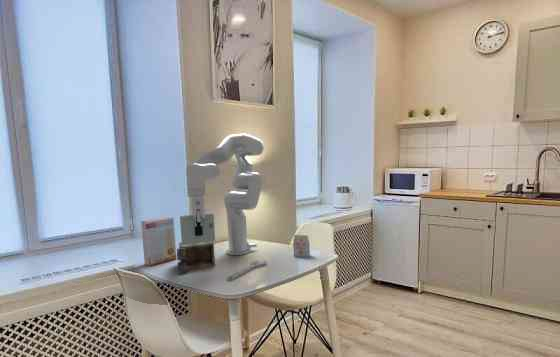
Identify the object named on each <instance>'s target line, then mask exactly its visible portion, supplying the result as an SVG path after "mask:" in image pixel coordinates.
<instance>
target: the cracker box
mask: <svg viewBox="0 0 560 357" xmlns="http://www.w3.org/2000/svg"><path fill="white" fill-rule="evenodd" d="M174 222H175V219H174V217H171V216H165V217H160V218H153V219H148V220H141V221H140V223H141V226H140V227H141V235H142V236H141V238H142V247H143V248H142V249H143V260H144V261H143V262H144V265H145V266H148V267H151V266H156V265H159V264H163V263H167V262H170V261H174V260H177V245H176V232H175V231H176V230H175V223H174Z"/></svg>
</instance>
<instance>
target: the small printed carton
mask: <svg viewBox="0 0 560 357" xmlns="http://www.w3.org/2000/svg"><path fill="white" fill-rule="evenodd" d="M293 238H294V239H293V256H294V257H300V258H308V257H310V256H311V251H310V250H311V246H310V240H309V236H308V235H304V234H294V235H293Z"/></svg>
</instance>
